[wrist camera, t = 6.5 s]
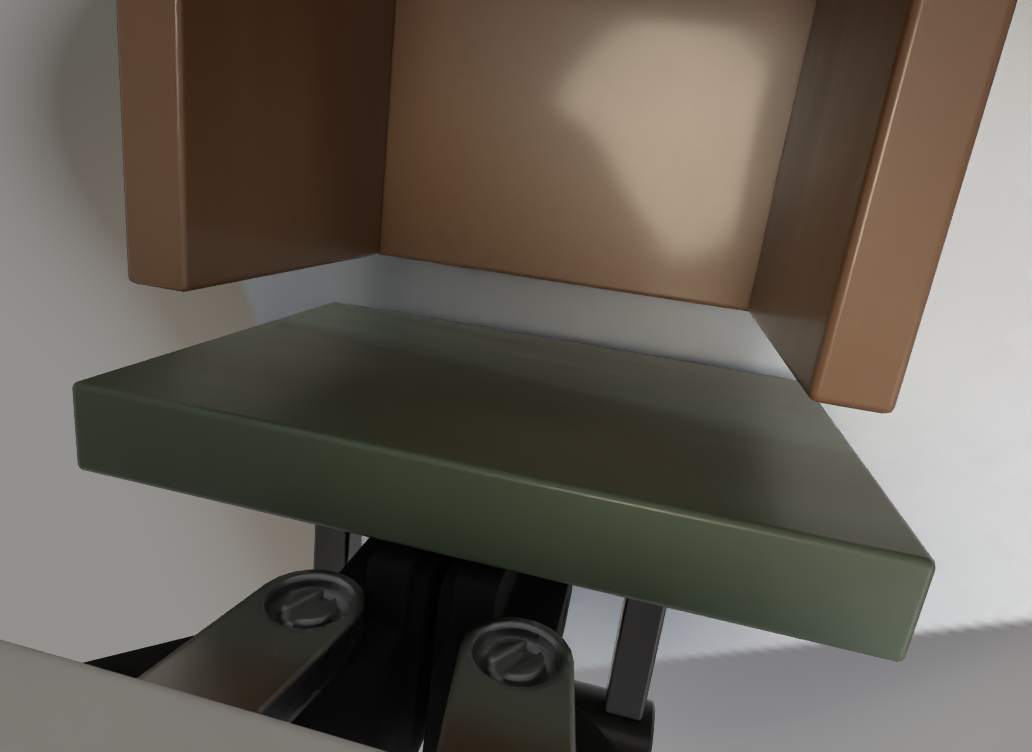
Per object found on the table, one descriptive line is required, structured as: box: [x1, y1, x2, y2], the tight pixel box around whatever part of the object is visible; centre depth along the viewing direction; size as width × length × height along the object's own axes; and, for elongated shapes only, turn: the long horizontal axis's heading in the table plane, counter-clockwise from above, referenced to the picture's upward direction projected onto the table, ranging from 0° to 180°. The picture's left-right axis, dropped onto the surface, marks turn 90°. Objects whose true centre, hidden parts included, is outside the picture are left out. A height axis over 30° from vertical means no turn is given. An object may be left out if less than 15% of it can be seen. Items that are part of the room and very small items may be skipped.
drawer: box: [72, 0, 1017, 752], centre depth 10 cm, size 16×10×7 cm, turn 173°
